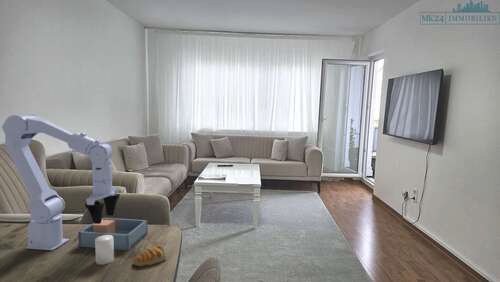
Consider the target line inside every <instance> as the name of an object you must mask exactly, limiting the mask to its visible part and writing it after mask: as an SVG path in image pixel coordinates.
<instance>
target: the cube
mask: <svg viewBox="0 0 500 282" xmlns="http://www.w3.org/2000/svg"><path fill="white" fill-rule="evenodd" d="M93 232H99V233H114V234H115V220H101V223H100V224H94V225H93Z"/></svg>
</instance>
